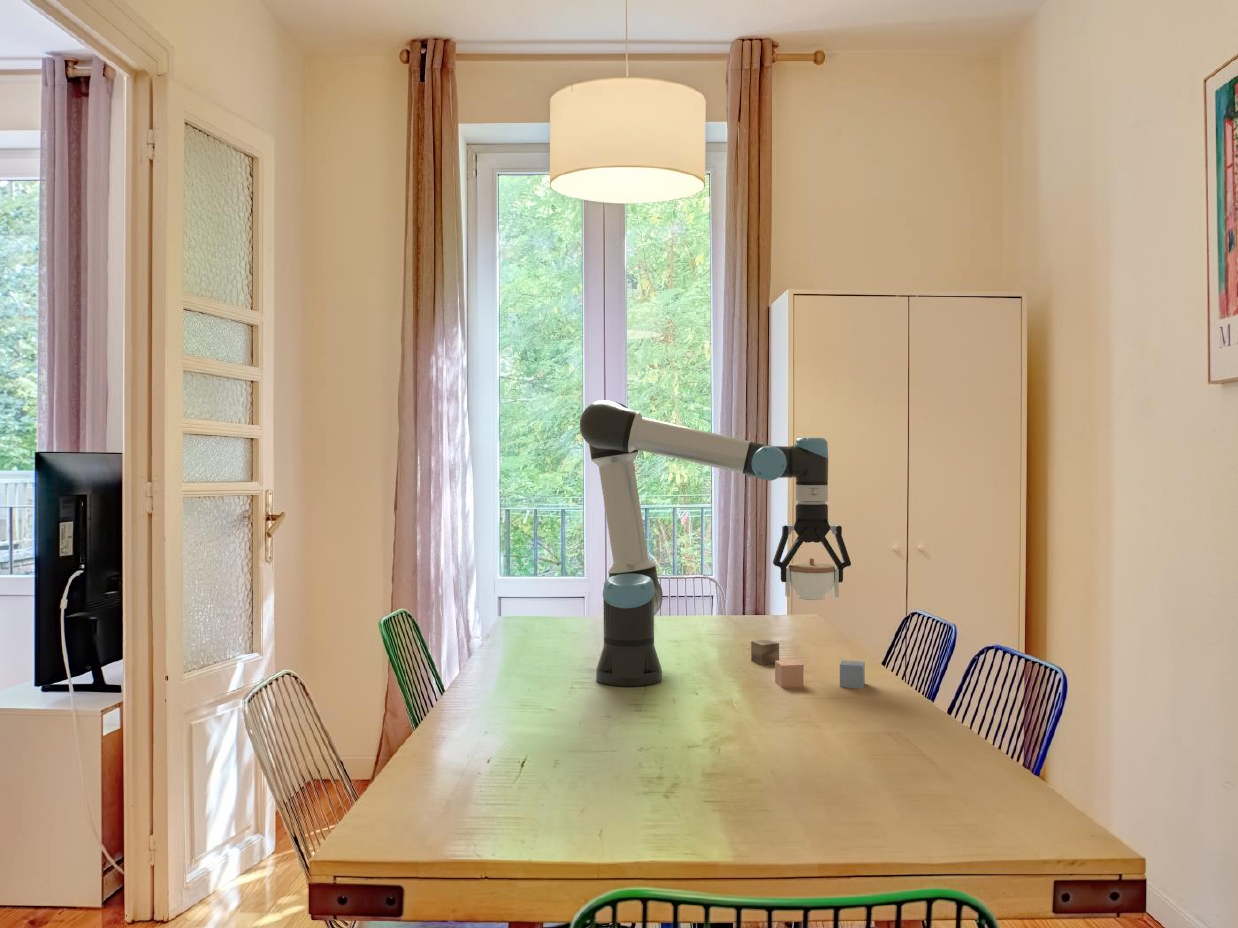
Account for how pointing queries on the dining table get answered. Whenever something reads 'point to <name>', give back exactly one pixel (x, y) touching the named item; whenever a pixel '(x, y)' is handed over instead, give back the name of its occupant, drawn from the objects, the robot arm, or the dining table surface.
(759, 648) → the cube walnut
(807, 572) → the lidded jar
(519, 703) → the dining table surface
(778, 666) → the cube terracotta
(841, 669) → the cube slate
